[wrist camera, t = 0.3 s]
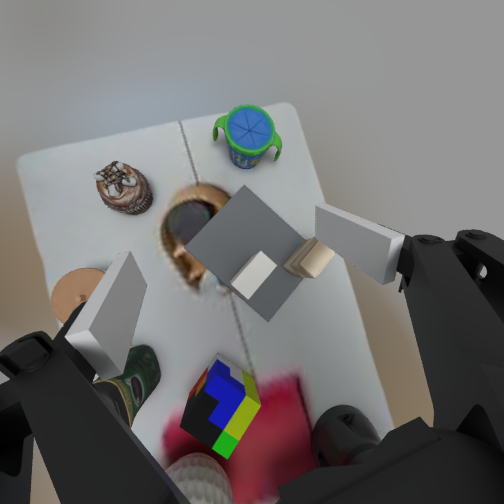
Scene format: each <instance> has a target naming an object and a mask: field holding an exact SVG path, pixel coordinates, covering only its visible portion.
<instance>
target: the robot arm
mask: <svg viewBox="0 0 504 504" xmlns="http://www.w3.org/2000/svg"><path fill="white" fill-rule="evenodd" d="M315 239H317V240H318V241H320V242H321V243H323V244H324V245H325V246H327V247H328V248H330V249H331V250H333V251H334V252H336V253H337V254H338V255H340V256H341V257H343V258H344V259H346V260H347V261H349V262H350V263H351V264H353V265H354V266H356V267H357V268H359V269H360V270H362V271H363V272H364V273H366V274H367V275H369V276H370V277H372V278H373V279H375V280H376V281H377V282H379V283H380V284H382V285H384V284H387V283H390V282H393V281H394V280H395V276H396V271H397V272H399V273H401V274H402V279H401V283H400V287H399V292H400V293H401V290H402V289H404V294H405V298H406V302H407V306H408V309H409V313H410V317H411V321H412V325H413V329H414V333H415V337H416V341H417V345H418V348H419V352H420V356H421V360H422V364H423V368H424V372H425V376H426V379H427V384H428V387H429V391H430V395H431V399H432V403H433V408H434V422H433V427H429V426H428V425H427V424H426V423H425V422H424V421H423V420H422V418H421V417H418V418H416V419H414V420H412V421H410V422H408V423H406V424H404V425H402V426H400V427H398V428H396V429H394V430H392V431H390V432H388V433H387V435H386V436H385V437H384V438H383V440H382V441H381V440H380V438H379V436H378V434H377V432H376V430H375V428H374V426H373V425H372V423H371V422H370V421H369V420H368V419H367V418H366V417H365V416H364V415H363V414H362V413H361V412H360V411H359V410H357V409H356V408H354V407H351V406H337V407H334V408H331V409H330V410H328V411H327V412H325V413H324V414H323V415H322V416H321V417H320V419H319V420H318V422H317V424H316V426H315V428H314V431H313V435H312V451H313V455H314V458H315V460H316V462H317V464H318V466H319V468H316V469H314V470H311V471H309V472H307V473H305V474H303V475H301V476H299V477H297V478H295V479H293V480H291V481H289V482H287V483H285V484H283V485H281V486H279V487H278V490H279V493H280V497H281V498H280V499H279V500H278V501H277V503H276V504H504V240H502V239H500V238H498V237H496V236H494V235H493V234H490V233H487V232H483V231H481V230H474V229H472V230H462V231H459V232H458V233H457V236H456V239H455V240H452V241H445V240H444V239H442V238H440V237H437V236H432V235H416V236H413V237H410V236H408V235H405V234H403V233H400V232H398V231H395V230H392V229H390V228H386V227H385V226H382V225H380V224H376V223H373V222H371V221H368V220H365V219H363V218H361V217H358V216H356V215H353V214H350V213H348V212H345V211H343V210H340V209H338V208H335V207H333V206H330V205H328V204H325V203H323V204H319V205H315ZM483 266H485V267H486V269H487V275H486V276H485V278H483V277H482V276H481V275H479V274H480V272H481V270H482V268H483ZM146 288H147V284H146V282H145V280H144V278H143V276H142V273H141V271H140V269H139V267H138V265H137V263H136V261H135V259H134V257H133V255H132V253H131V251H128V252H124V253H119V254H117V255H116V257H115V259H114V260H113V262H112V263H111V265H110V266H109V268H108V270H107V271H106V273H105V274H104V276H103V277H102V279H101V281H100V282H99V284H98V285H97V287H96V288H95V290H94V292H93V293H92V295H91V296H90V298H89V299H88V301H85V302H82V303H81V304H80V305H79V306H78V307H77V308H76V309H74V310H73V312H72V313H71V315H70V316H69V318H68V320H67V321H66V322H65V324H64V325H63V326H64V327H62V328H61V329H60V331H59V332H58V334H57V335H56V337H55V338H54V340H52V339H51V338H50V337H49V336H48V335H47V333H45V332H43V331H38V332H33V333H30V334H28V335H25V336H23V337H21V338H19V339H17V340H15V341H14V342H13V343H11V344H9V345H8V346H7V347H5V348H4V349H3V350H2V351H1V352H0V371H1V372H2V373H3V374H5V375H6V376H7V377H9V378H10V380H8V381H7V382H4V383H2V384H1V385H0V504H30V492H31V475H32V460H33V443H34V442H33V441H34V438H35V440H36V443H37V445H38V448H39V450H40V453H41V455H42V457H43V460H44V463H45V465H46V467H47V470H48V473H49V475H50V478H51V480H52V483H53V485H54V488H55V490H56V493H57V495H58V498H59V500H60V503H61V504H191V503H190V502H189V500H188V499H187V498H186V497H185V495H184V494H183V493H182V492H181V491H180V489H179V488H178V487H177V486H176V484H175V483H174V482H173V481H172V479H171V478H170V477H169V476H168V475H167V473H166V472H165V471H164V470H163V468H162V467H161V466H160V465H159V464H158V462H157V461H156V460H155V459H154V457H153V456H152V455H151V454H150V452H149V451H148V450H147V449H146V448H145V446H144V445H143V444H142V443H141V441H140V440H139V439H138V438H137V437H136V435H135V434H134V433H133V432H132V430H131V429H130V428H129V427H128V425H127V424H126V423H125V422H124V421H123V419H122V418H121V417H120V416H119V414H118V413H117V412H116V411H115V410H114V408H113V407H112V406H111V405H110V403H109V402H108V401H107V400H106V398H105V397H104V396H103V395H102V394H101V392H100V391H99V390H98V389H97V387H96V386H95V385H94V384H93V383H92V382H93V379H94V377H95V374H96V373H97V375H98V376H99V377H100V378H101V379H102V380H103V381H105V380H108V379H111V378H113V377H116V376H119V375H122V374H123V371H124V368H125V364H126V360H127V357H128V353H129V350H130V346H131V342H132V339H133V335H134V331H135V328H136V324H137V320H138V317H139V313H140V310H141V306H142V302H143V299H144V295H145V291H146ZM281 501H282V502H281Z"/></svg>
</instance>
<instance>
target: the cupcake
mask: <svg viewBox="0 0 504 504" xmlns="http://www.w3.org/2000/svg"><path fill="white" fill-rule="evenodd" d="M93 176H94V178H95V179H96V180H97V181H96V183H97V189H98V192H99V194H100V196H101V198H102V200H103V202H104V204H105V205H107V206H108V208H111V209H112V210H114V211H118V212H122V213H126V214H131V215H138V214H141V213H144V212H145V211H147V210H148V208H149V207H150V206H151V204H152V200H153V198H152V193H151V190H150V188H149V183H148V181H147V180H146V178H145V177H144V175H143V174H142V173H140V172H139V171H138V170H136V169H134V168H132V167H130V166H129V165H127V164H124V163H121V162H118V161H114V162H112V163H111V164H109V165H108V166H106V167H105V168H104V169H102V170H101V171H99V172H97V173H94V174H93Z"/></svg>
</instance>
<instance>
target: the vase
mask: <svg viewBox="0 0 504 504" xmlns="http://www.w3.org/2000/svg"><path fill="white" fill-rule="evenodd" d="M165 472H166V473H167V475H168V476H169V477H170V478H171V479H172V481H173V482H174V483H175V484H176V486H177V487H178V488H179V489H180V491H181V492H182V493H183V494H184V495H185V497H186V498H187V499H188V500H189V502H190V503H191V504H235V499H234V494H233V490H232V487H231V484H230V482H229V479H228V477H227V475H226V473H225V471H224V470H223V468H222V467H221V466H220V465H219V463H218V462H217V461H216V460H215V459H213V458H212V457H210V456H209V455H207V454H204V453H191V454H188V455H186V456H184V457H182V458H180V459H178V460H177V461H176V462H174V463H173V464H172V465H171V466H170V467H169V468H168V469H167V470H165Z"/></svg>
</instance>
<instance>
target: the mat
mask: <svg viewBox="0 0 504 504" xmlns="http://www.w3.org/2000/svg"><path fill="white" fill-rule="evenodd" d="M303 241H306V240H305V239H304V238H303V237H301V236H300V235H299V234H298V233H297V232H296V231H295V230H294V229H293V228H292V227H290V226H289V225H288V224H287V223H286V222H285V221H284V220H283V219H282V218H280V217H279V216H278V215H277V214H276V213H275V212H274V211H273V210H272V209H271V208H269V207H268V206H267V205H266V204H265V203H264V202H263V201H262V200H261V199H260V198H258V197H257V196H256V195H255V194H254V193H253V192H252V191H251V190H250V189H248V188H247V187H246V186H245V185H244V186H243V187H242V188H241V189H240V190H239V191H238V192H237V193H236V194H235V195H234V196H233V197H232V198H231V199H230V200H229V201H228V202H227V203H226V204H225V206H224V207H223V208H222V209H221V210H220V211H219V212H218V213H217V214H216V215H215V216H214V217H213V218H212V219H211V220H210V221H209V222H208V223H207V224H206V225H205V226H204V227H203V228H202V229H201V230H200V231H199V233H198V234H197V235H196V236H195V237H194V238H193V239H192V240H191V241H190V242H189V243H188V244H187V245H186V246H185V247H184V248H185V249H186V250H187V251H188V252H189V253H191V254H192V255H193V256H194V257H195V258H196V259H197V260H199V261H200V262H201V263H202V264H203V265H204V266H205V267H206V268H208V269H209V270H210V271H211V272H212V273H213V274H214V275H216V276H217V277H218V278H219V279H220V280H221V281H222V282H223V283H225V284H226V285H227V286H228V287H229V288H230V289H231V290H233V291H234V292H235V293H236V294H237V295H238V296H239V297H240V298H242V299H243V300H244V301H245V302H246V303H247V304H248V305H250V306H251V307H252V308H253V309H254V310H255V311H256V312H257V313H259V314H260V315H261V316H262V317H263V318H264V319H265V320H267V321H268V322H269V321H270V319H271V318H272V317H273V316H274V314H275V313H276V312H277V311H278V309H279V308H280V307H281V306H282V304H283V303H284V302H285V301H286V299H287V298H288V297H289V296H290V294H291V293H292V292H293V291H294V290H295V288H296V287H297V286H298V285H299V283H300V282H301V281H302V280H303V278H299V277H293V276H292V275H291V274H290V273H289V272H287V271H286V270H285V269H284V268H283V267H282V265H283V264H284V263H285V262H286V261H287V259H288V258H289V257H290V256H291V255H292V253H293V252H294V251H295V250H296V249H297V247H298V246H299V245H300V244H301V243H302V242H303ZM260 251H262V252H263V253H264V254H265V255H266V256H267V257H268V258H269V259H271V260H272V261H273V262H274V263H275V264H276V265H277V266H276V267H275V269H274V270H273V271H272V272H271V273H270V275H269V276H268V277H267V278H266V279H265V280H264V282H263V283H262V284H261V285H260V286H259V288H258V289H257V290H256V291H255V292H254V293H253V295H252V296H251V297H250V298H249V299H247V298H246V297H245V296H244V295H242V294H241V293H240V292H239V291H238V290H237V289H236V288H234V287H233V286H232V285H231V284H230V281H231V279H232V278H233V277H234V276H235V275H236V274H237V273H238V272H239V270H240V269H241V268H242V267H243V266H244V265H245V264H246V262H247V261H248V260H249V259H250V258H251V257H252V256H253V255H255V254H256V253H258V252H260Z"/></svg>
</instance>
